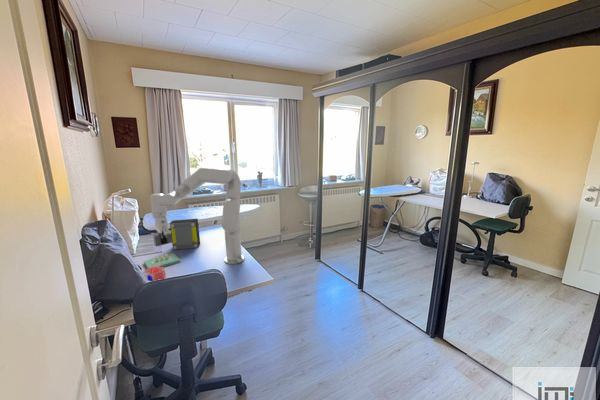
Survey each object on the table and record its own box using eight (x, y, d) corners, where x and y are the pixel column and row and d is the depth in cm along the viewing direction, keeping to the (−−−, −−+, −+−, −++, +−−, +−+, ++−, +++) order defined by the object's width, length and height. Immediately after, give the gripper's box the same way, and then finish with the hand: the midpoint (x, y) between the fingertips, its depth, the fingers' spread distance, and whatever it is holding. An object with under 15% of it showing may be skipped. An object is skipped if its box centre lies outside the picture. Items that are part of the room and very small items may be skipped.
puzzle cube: (166, 280, 148) (164, 267, 146) (153, 287, 141) (151, 274, 139) (156, 277, 151) (154, 265, 149) (143, 284, 144) (141, 271, 142)
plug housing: (172, 242, 164) (171, 233, 162) (156, 246, 158) (154, 237, 156) (170, 241, 166) (169, 232, 165) (154, 244, 160) (153, 235, 159)
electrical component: (172, 250, 189) (168, 224, 184) (175, 245, 198) (172, 220, 194) (198, 248, 192) (195, 222, 188) (200, 243, 202) (197, 218, 197)
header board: (180, 261, 171) (179, 255, 170) (149, 271, 159) (148, 263, 158) (173, 255, 181) (172, 248, 180) (144, 263, 169) (142, 256, 168)
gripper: (170, 215, 154) (174, 244, 158) (162, 210, 166) (165, 237, 170) (156, 218, 149) (160, 248, 153) (148, 212, 161) (152, 240, 165)
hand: (163, 242), depth 162 cm, fingers closed on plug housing, 3 cm apart
